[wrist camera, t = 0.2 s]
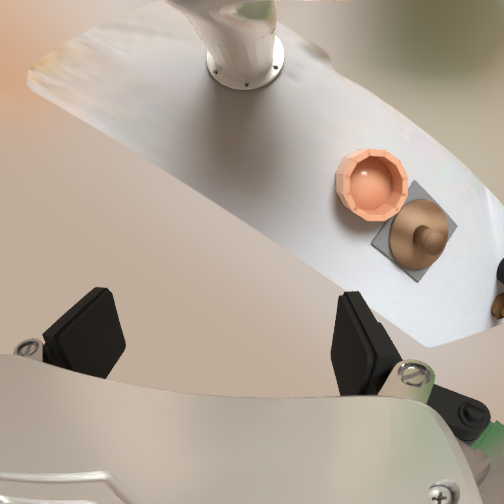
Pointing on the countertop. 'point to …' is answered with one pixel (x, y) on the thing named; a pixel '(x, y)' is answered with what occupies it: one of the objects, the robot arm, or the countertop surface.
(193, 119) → the countertop surface
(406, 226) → the lid
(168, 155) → the countertop surface
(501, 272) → the wine bottle
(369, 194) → the bowl
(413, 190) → the mat
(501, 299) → the dark brown knobbed cylinder
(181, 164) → the countertop surface
